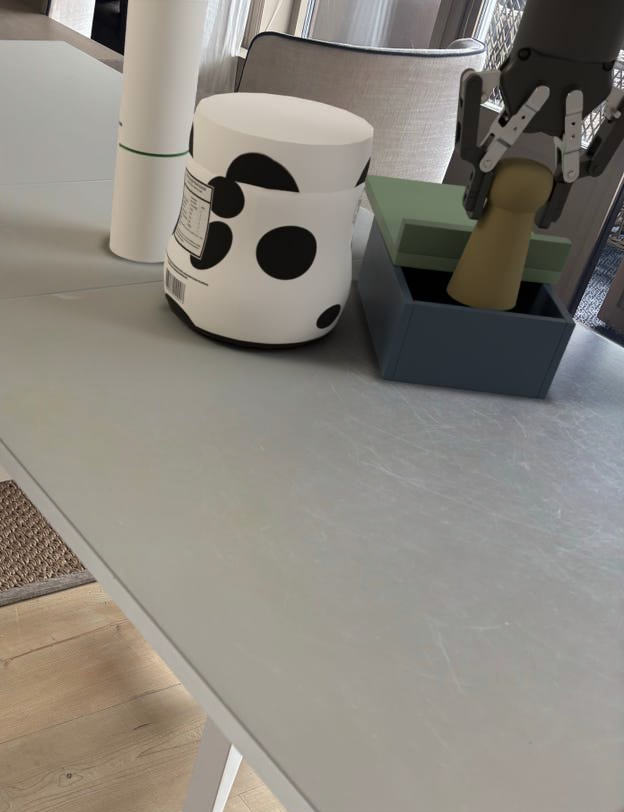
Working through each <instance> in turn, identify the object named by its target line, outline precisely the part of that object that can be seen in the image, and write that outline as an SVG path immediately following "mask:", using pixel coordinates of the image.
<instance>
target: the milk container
mask: <svg viewBox="0 0 624 812" xmlns="http://www.w3.org/2000/svg"><path fill="white" fill-rule="evenodd" d="M374 131H375V129H374V127H373V126H372V125H371V124H370V123H369V122H368V121H367V120H365V118H363V117H361V116H359V115H356V114H355V113H352V112H351V111H348V110H346V109H344V108H340V107H337V106H334V105H331V104H326V103H324V102H319V101H316V100H311V99H305V98H301V97H296V96H290V95H282V94H274V93H266V92H265V93H264V92H230V93H229V92H228V93H218V94H214V95H210V96H207V97H205V98H201V100H200V101H199V103H198V104H197V106H196V107H195V110H194V116H193V122H192V127H191V131H190V138H189V153H188V156H187V159H186V168H185V179H184V190H183V199H182V205H181V209H180V214H179V217H178V220H177V223H176V225H175V228H174V230H173V233H172V235H171V238H170V241H169V243H168V246H167V250H166V254H165V260H164V262H163V287H164V296H165V299H166V301H167V303H168V306H169V309H170V310H171V312H172V313H173V314H174V315H175V316H176V317H177V318H178V319H180V320H181V321H182V322H183V323H185V325H187V326H188V327H189V328H190V329H193V330H194V331H196V332H199V333H201V334H204V335H205V336H207V337H209V338H211V339H214V340H217V341H221V342H224V343H225V342H226V343H229V344H233V345H237V346H240V347H247V348H248V347H250V348H258V349H267V350H269V349H290V348H297V347H299V346H303V345H306V344H310V343H314V342H316V341H318V340H320V339H322V338H323V337H325V336H326V335H328V333H330V332H331V331H332V329H333V328H334V327H336V325H337V323H338V322H339V319H340V318H341V316H342V314H343V311H344V309H345V307H346V304H347V301H348V298H349V295H350V291H351V286H352V282H353V281H352V280H353V253H352V252H353V236H354V230H355V226H356V223H357V217H358V214H359V210H360V207H361V203H362V200H363V196H364V193H365V190H364V189H365V179H366V176H367V174H368V173H369V170H370V165H371V158H372V152H373V146H374V145H373V143H374ZM368 175H369V174H368Z"/></svg>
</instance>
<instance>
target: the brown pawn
mask: <svg viewBox="0 0 624 812" xmlns="http://www.w3.org/2000/svg"><path fill="white" fill-rule="evenodd" d="M491 171H492V172H493V174H494V176H493V179H492V182H491V185H490V188H489V191H488V195H487V201H486V203H485V205H484V207H483V210H482V213H481V216H480V219H479V220H478V221H477V223H476V225H475V227H474V229H473V232H472V234H471V236H470V238H469V240H468V242H467V245H466V247H465V249H464V251H463V253H462V256H461V258H460V260H459V262H458V264H457V267H456V269H455V271H454V273H453V275H452V278H451V280H450V282H449V284H448V286H447V289H446V290H447V292H448V294H449V295H450V296H451V297H452V298H453V299H455V300H457V301H459V302H461V303H463V304H466V305H468V306H471V307H475V308H479V309H487V310H495V311H502V310H508V309H511V308H513V307H514V306H515V304H516V300H517V295H518V291H519V287H520V282H521V278H522V273H523V269H524V264H525V260H526V255H527V251H528V247H529V242H530V238H531V233H532V231H533V229H534V224H535V222H534V220H535V215H536V212H537V210H538V209H539V208H540V207H541V206H543V205H544V204H545V202H546V201H547V199H548V198H549V196H550V193H551V190H552V186H553V174H554V173H553V170H551V169H550V168H549V166H547V165H546V164H544V163H542V162H540V161H537V160H534V159H531V158H527V157H519V156H518V157H517V156H507V157H503V158H500V160H499V161H498V162H497V164H496V165H495V167H494V168H493V169H492V170H491Z"/></svg>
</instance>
